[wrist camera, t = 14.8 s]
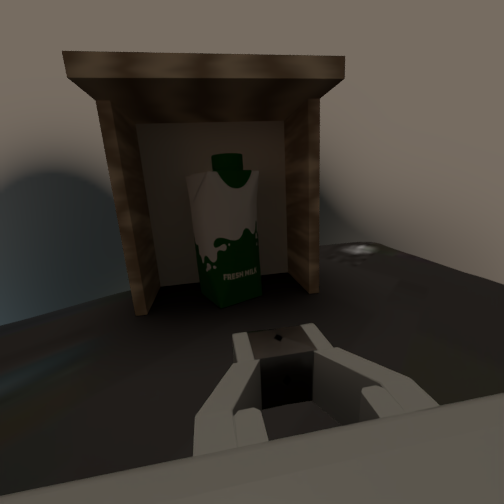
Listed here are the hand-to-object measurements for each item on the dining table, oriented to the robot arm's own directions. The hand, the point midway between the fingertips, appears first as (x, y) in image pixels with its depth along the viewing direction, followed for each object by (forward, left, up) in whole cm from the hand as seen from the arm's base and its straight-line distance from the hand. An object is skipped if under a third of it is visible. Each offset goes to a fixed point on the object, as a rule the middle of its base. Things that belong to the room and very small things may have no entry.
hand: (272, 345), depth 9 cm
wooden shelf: (0, +29, -10) cm, 30 cm away
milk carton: (0, +29, -10) cm, 31 cm away
